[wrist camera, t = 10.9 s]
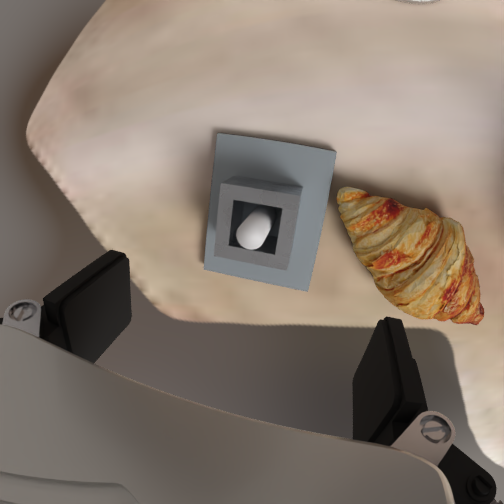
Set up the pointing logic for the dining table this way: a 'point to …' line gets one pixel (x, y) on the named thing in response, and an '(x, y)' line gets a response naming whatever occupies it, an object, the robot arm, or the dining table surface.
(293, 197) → the grey hollow block
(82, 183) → the dining table surface
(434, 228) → the croissant
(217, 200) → the keeper
